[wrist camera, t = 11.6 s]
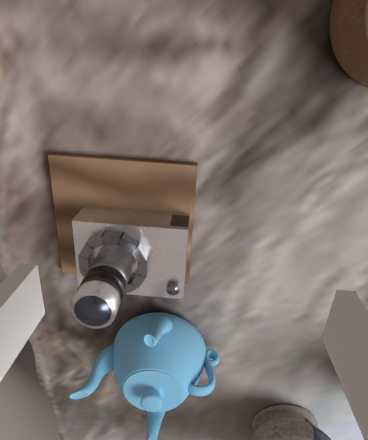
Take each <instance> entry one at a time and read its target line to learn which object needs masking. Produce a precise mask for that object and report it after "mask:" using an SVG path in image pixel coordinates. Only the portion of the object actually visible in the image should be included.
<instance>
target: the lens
mask: <svg viewBox="0 0 368 440" xmlns="http://www.w3.org/2000/svg"><path fill="white" fill-rule="evenodd" d="M133 263H134V262H133V257H132V255H131V254H130V252H129V251H127V250H126V249H124V248H122V247H120V246H118V245H108V246H105V247H103V248H102V249H101V250H100V251H99V252H98V254H97V256H96V258H95V260H94V261H93V263H92V265H91V267H90V269H89V271H88V272H87V273H86V275H85V277H84V279H83V280H82V282H81V284H80V286H79V288H78V289H77V292H76V294H75V296H74V298H73V299H72V301H71V304H70V311H71V314H72V316H73V317H74V318H75V320H76V321H77V322H79V323H80V324H82V325H84V326H86V327H89V328H96V329H98V328H104V327H107V326H109V325H110V324H111V323H112V322H113V321H114V320H115V317H116V315H117V312H118V309H119V307H120V304H121V301H122V298H123V295H124V292H125V290H126V285H127V282H128V280H129V277H130V274H131V271H132V268H133Z"/></svg>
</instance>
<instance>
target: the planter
mask: <svg viewBox="0 0 368 440" xmlns="http://www.w3.org/2000/svg"><path fill="white" fill-rule="evenodd" d="M329 28H330V39H331V45H332V48H333V52H334V54H335V57H336V59H337V61H338V63H339V64H340V66H341V67H342V69H343V70H344V71H345V72H346V73H347V74H348V75H349V76H350V77H351V78H352V79H354V80H355V81H357V82H358V83H360V84H362V85H364V86H367V87H368V0H333V2H332V7H331V13H330V26H329Z"/></svg>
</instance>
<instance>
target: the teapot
mask: <svg viewBox="0 0 368 440" xmlns="http://www.w3.org/2000/svg"><path fill="white" fill-rule="evenodd" d="M209 358H211V359H213V360H210V359H209ZM218 362H219V355H218V353H217V352H215V351H214V350H211V349H209V350H206V347H205V343H204V340H203V338H202V336H201V334H200V333H199V332H198V330H197V329H196V328H195V327H194V326H193V325H191V324H190V323H189V322H187V321H186V320H184V319H182V318H180V317H178V316H176V315H173V314H169V313H162V312H154V313H147V314H143V315H140V316H137V317H135V318H132V319H131V320H129V321H128V322H126V323H125V324H124V325H123V326H122V327H121V328H120V330H119V331H118V333H117V335H116V337H115V341H114V343H113V344H112V345H110V346H108V347H106V348H105V349H104V350H103V351H101V353H100V354H99V355H98V357H97V359H96V361H95V363H94V366H93V368H92V371H91V374H90V376H89V378H88V380H87V382H86V383H85V384H84V385H83V386H82V387H81V388H80V389H79V390H77V391H76V392H74V393H72V394H71V395H70V396H69V398H70V399H80V398H84V397H86V396H88V395H90V394H91V393H92V392H93V391H94V390H95V389H96V388H97V386H98V385H99V383H100V381H101V379H102V378H103V376H104V375H105V374H107V373H108V372H110V371H112V370H114V372H115V376H116V379H117V381H118V384H119V386H120V389H121V391H122V393H123V395H124V396H125V398H126V399H127V400H128V401H129V402H130V403H131V404H132V405H134V406H135V407H137V408H139V409H141V410H145V411H147V423H148V432H147V440H157V438H158V433H159V429H160V425H161V422H162V420H163V417H164V414H165V412H166V411H169V410H171V409H174V408H175V407H177V406H178V405H179V404H181V403H182V402H183V401H184V400H185V399H186V397H187V396H188V395H189V394H192V395H194V396H206V395H208V394H210V393H211V392H212V391H213V389H214V387H215V375H214V371H213V368H212V366H216V365H217V364H218ZM204 366H205V369H206V372H207V375H208V379H209V384H208V385H205V386H197V383H198V381H199V379H200V377H201V375H202V372H203V369H204Z"/></svg>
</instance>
